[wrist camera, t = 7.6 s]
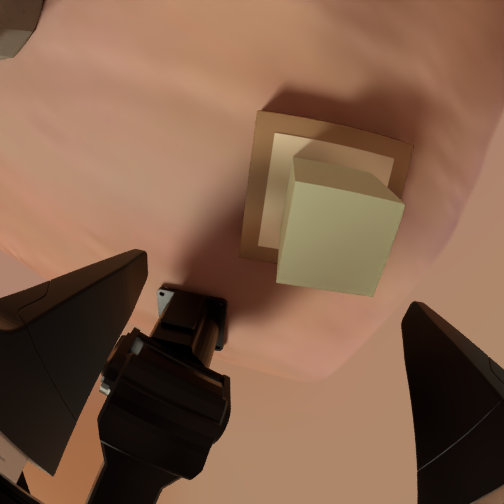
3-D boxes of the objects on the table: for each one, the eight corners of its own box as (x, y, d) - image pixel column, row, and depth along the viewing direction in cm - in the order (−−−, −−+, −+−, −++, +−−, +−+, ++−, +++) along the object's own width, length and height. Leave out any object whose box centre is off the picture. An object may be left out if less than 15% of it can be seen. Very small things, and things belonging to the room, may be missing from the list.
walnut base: (366, 262, 23) (374, 280, 20) (243, 241, 23) (238, 258, 21) (400, 140, 18) (414, 145, 15) (260, 110, 18) (257, 110, 16)
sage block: (352, 243, 19) (372, 297, 14) (279, 231, 19) (276, 282, 14) (371, 172, 17) (405, 204, 11) (292, 156, 17) (295, 180, 12)
